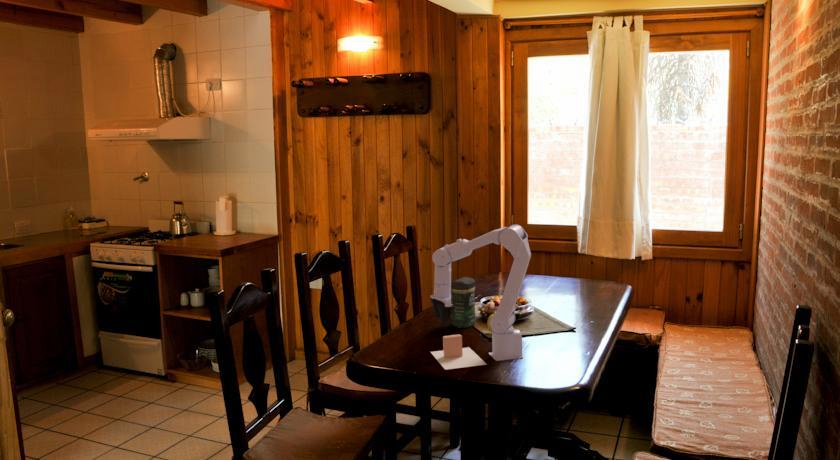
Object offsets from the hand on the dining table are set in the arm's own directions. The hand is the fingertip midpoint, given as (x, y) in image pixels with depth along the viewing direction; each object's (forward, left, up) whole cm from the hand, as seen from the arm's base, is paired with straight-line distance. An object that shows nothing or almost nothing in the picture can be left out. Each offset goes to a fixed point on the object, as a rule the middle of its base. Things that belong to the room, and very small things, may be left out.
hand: (441, 321), depth 230 cm
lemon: (-23, -11, -11) cm, 28 cm away
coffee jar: (-16, -26, -11) cm, 33 cm away
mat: (-2, +10, -11) cm, 15 cm away
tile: (-1, +8, -10) cm, 13 cm away
